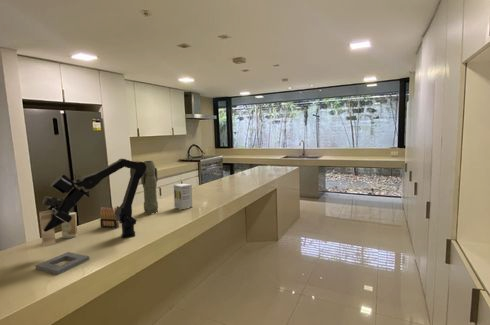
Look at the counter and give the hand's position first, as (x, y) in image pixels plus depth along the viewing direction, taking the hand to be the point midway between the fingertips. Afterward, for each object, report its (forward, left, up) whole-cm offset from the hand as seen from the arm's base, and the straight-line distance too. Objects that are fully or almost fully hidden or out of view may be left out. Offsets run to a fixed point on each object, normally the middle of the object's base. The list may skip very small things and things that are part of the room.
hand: (43, 229), depth 115 cm
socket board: (+10, +8, -12) cm, 18 cm away
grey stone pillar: (-55, +46, -12) cm, 73 cm away
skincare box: (-26, +4, -13) cm, 29 cm away
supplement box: (-57, +68, -13) cm, 90 cm away
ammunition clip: (-33, +22, -13) cm, 41 cm away
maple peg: (-1, +1, -7) cm, 7 cm away
